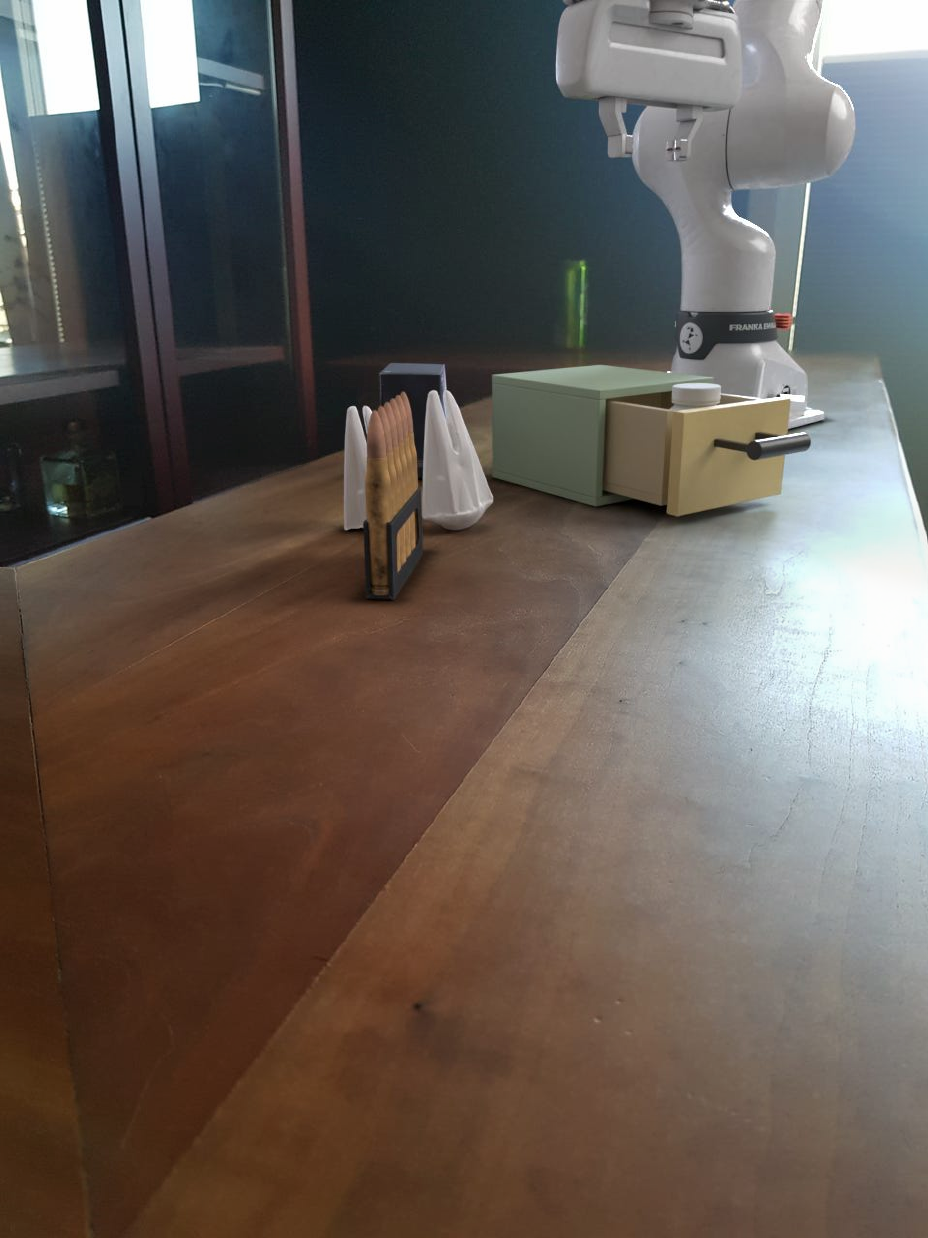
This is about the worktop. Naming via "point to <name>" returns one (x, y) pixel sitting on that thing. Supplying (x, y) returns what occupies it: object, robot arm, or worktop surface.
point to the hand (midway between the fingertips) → (649, 159)
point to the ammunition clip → (391, 501)
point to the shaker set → (425, 468)
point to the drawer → (697, 450)
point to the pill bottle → (695, 395)
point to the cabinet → (564, 425)
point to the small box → (413, 394)
